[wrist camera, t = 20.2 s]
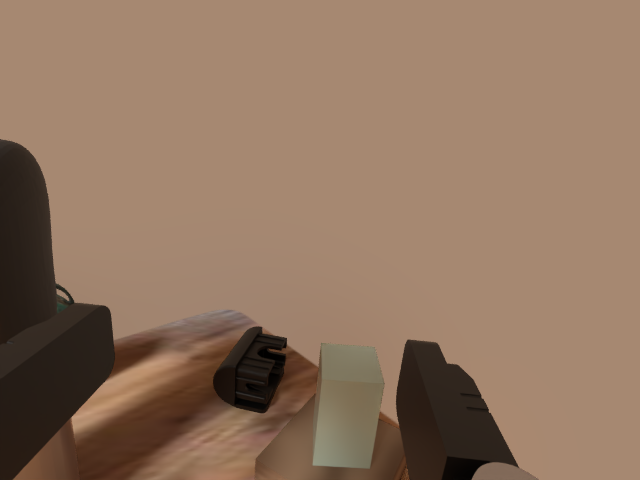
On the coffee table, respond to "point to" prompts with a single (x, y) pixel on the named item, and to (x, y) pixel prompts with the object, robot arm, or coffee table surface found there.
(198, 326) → the coffee table surface
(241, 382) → the end cap
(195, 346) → the coffee table surface
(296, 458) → the walnut box
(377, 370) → the tall sage green block
